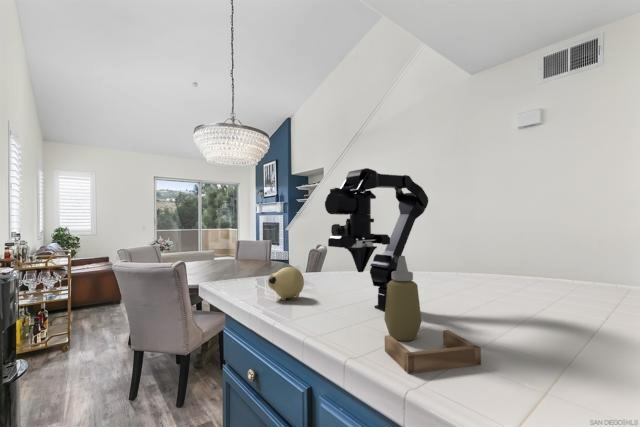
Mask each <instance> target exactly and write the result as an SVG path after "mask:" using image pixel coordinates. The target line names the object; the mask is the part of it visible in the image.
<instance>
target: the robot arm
mask: <svg viewBox="0 0 640 427" xmlns="http://www.w3.org/2000/svg"><path fill="white" fill-rule="evenodd" d="M376 188H381V189H394V191H395V198H396V200H397V201H398V209H399V216H398V218H397V221H396V222H395V226H394V228H393V230H392V233H391V235H390V236H389V235H388V234H385V233H384V234H383V233H372V226H371V225H372V223H375V219H374V218H372V217H371V216H372V215H371V214H372V212H371V210H372V205H371V204H372V202H371V201H372V200H374V199H375V200H376V198H377V196H376V194H375V193H373V192H372V189H376ZM403 189H406V190H407V191H408V192H405V193H404V192H403ZM428 204H429V197H428V196H427V194H426V192H425V190H424V189H423V187H422V186H421V185H419V184H417V183H416V182H414V180H413V179H412V177H411V176H410V175H407V174H404V175H401V174H398V175H397V174H385V173H378V172H377V170H374V169H372V168H368V167H366V168H365V167H364V168H361V169H355V170H350V171H348V172H347V175H346V176H345V180H344V182H343V183H342V185H341V186H340V188H339V187H331V188H330V189H329V194H328V195H327V196H326V199H325V201H324V208H325V210H326V212H327V214H329V215H339V216H341V215H342V216H343V215H345V216H346V215H349V218H346V220H345V224H344V225H340V224H339V223H333V224H332V225H331V229H330V231H331V232H330V233H331V235H330V236H329V238H328V240H327V242H328V243H327V246H328V247H332V248H341V249H342V248H343V249H347V251H348V252H349V253H350V254H351V256H352V259H353V262H354V265H355V268H356V269H357V270H356V271H357V272H358V273H363V272H364V271H365V269H366V267H367V265H368V262H369V260H370V258H371V256H372V255H373V253H374V252H375V250H377V248H378V246H375V245H374V244H382V245H386V247H385V249H384V252H382V253H381V254H377V253H376V254H375V255H374V257H373V260H372V262H371V263H370V265H369V266H370V269H369V274H370V278H371V282H372V286H373V287H377V288H378V290H377V292H378V293H377V304H376V305H374V308H375V309H378V310H382V311H385V306H386V294H387V284H388V283H389V282H390V281H391V280H393V279H392V271H396V269H397V264H398V260H399V256H403V252H404V250H405V248H406V245H407V243H408V242H407V241H408V240H409V236H410V235H411V234H410V233H411V232H412V229H413V226H414V224H415V222H416V220H417V219H418V218H419V217H420V216H422V214H424V213H425V211H426V208H427V207H428Z"/></svg>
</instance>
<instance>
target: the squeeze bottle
mask: <svg viewBox="0 0 640 427" xmlns="http://www.w3.org/2000/svg"><path fill="white" fill-rule="evenodd" d="M392 279H393V280H391V281H390V282H389V283H388V284H387V294H386V306H385V310H384V318H383V320H384V322H385V326H386V329H387V331H388V335H390V336H392V337H393V338H394V339H395V340H397V341H404V342H405V341H407V342H409V341H414V340H415V339H417V336H418V334H419V330H420V327H421V325H422V317H421V316H422V314H421V304H420V298H419V288H418V284H417V283H416V281H413V280H414V272H412V271H409V269H408V264H407V260H406V256H405V255H401V256H399V260H398V264H397V269H396V271H392Z"/></svg>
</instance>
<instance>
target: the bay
mask: <svg viewBox="0 0 640 427" xmlns="http://www.w3.org/2000/svg"><path fill="white" fill-rule="evenodd" d="M442 341H443V342H442V345H443V346H444V347H446V348H437V349H436V348H435V349H434V348H433V349H425V350H418V351H410V350H409V349H408V348H406V346H404V345H403V344H402V343H400V341H399V340H397V339H394V338H393V337H392V336H390V335H389V334H388V335H387V334H386V335H384V352H385V353H386V354H387V355H388V356H389V357H390V358H391V359H392V360H393V361H394V362H396V364H398V365H399V367H401V369H403V370H404V372H406V373H407V374H415V373H416V374H417V373H424V372H425V373H426V372H431V371H438V370H439V371H440V370H447V369H456V368H462V367H470V366H471V367H472V366H479V365H481V364H482V354H481V353H482V352H481V350H482V349H481V346H478V345H476V344H475V343H473V342H472V341H470V340H467V339H466V338H464V337H462V336H460V335H458V334H456V333H455V332H453V331H451V330H449V329H444V330H442Z"/></svg>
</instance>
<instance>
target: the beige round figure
mask: <svg viewBox="0 0 640 427" xmlns="http://www.w3.org/2000/svg"><path fill="white" fill-rule="evenodd" d="M267 285H268V287H269V288H270V289H271V290H272V291H274V292H275V294H277V296H279V297H280V300H281V301H285V300H286V299H291V298H294V297H295V298H298V297H300V294H301V293H302V291H303V289H304V287H305V278H304V276H303V274H302V272H301V271H300V270H299V269H298V268H296V267H292V266H287V267H283V268H281V269H279V270H277V272H273V273H271V274H270V275H269V277H268V278H267Z"/></svg>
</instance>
